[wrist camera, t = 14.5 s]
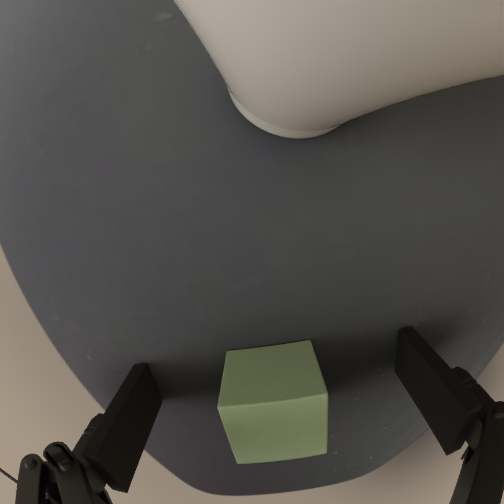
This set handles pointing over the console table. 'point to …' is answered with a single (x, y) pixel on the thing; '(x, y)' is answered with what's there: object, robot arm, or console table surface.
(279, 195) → the console table surface
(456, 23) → the drinking glass
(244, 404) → the block
